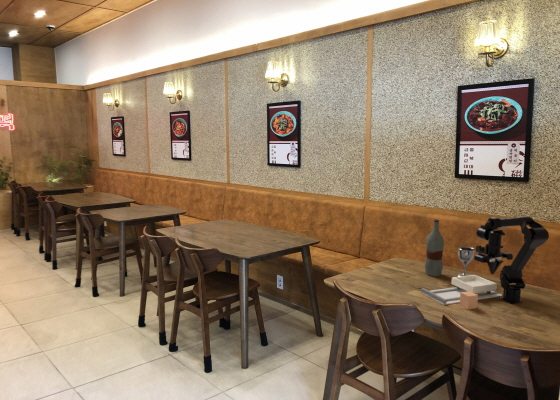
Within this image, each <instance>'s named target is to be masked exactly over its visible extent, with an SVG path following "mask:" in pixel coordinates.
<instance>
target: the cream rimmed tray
mask: <svg viewBox="0 0 560 400" xmlns="http://www.w3.org/2000/svg"><path fill="white" fill-rule="evenodd" d="M450 283H451V285H453V286H455V287H456V288H462V289H464V290H466V291H470V292H472V293H475V294H476V293H480V292H487V293H491V291H494V292H495V291H497V287H498V283H497V282H494V281H492V280H488V279H486V278H483V277H481V276H479V275H476V274H468V276H460V277H459V276H453V277H451V282H450Z"/></svg>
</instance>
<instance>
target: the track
mask: <svg viewBox="0 0 560 400" xmlns="http://www.w3.org/2000/svg"><path fill="white" fill-rule="evenodd" d="M420 290H421V292H420V293H421V294H423V295H425V296H426V297H428V298H430V299H432V300H434V301H436V302H438V303H440V304H441V305H442V306H447V305H452V304H460V293H461V292H467V291H466V290H464V289H462V288H456V286H455V287H448V288H441V289H434V290H433V289H431V290H428V289H426V288H425V287H424V288H423V287H422V288H421V289H420ZM476 294H477V295H478V301H479V300H485V299H492V298H498V297H499V296H500V297H503V294H500V293H498V291H495V290H494V291H491V293H487V292H480V293H476Z"/></svg>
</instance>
